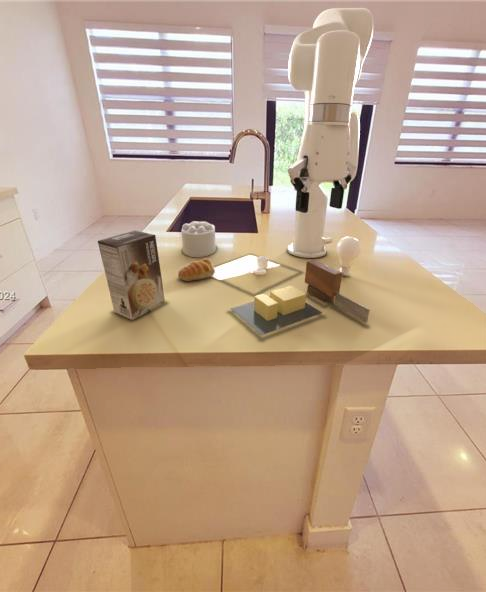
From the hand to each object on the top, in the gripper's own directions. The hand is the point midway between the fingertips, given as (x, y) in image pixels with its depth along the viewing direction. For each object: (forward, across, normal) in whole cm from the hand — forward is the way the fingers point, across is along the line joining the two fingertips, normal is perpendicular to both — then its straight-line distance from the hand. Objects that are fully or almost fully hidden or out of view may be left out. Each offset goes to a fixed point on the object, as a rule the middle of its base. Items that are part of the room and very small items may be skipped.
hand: (318, 209), depth 67 cm
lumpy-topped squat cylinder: (+20, +10, -43) cm, 49 cm away
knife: (+21, -1, +7) cm, 22 cm away
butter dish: (+21, +12, +3) cm, 24 cm away
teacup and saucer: (+21, +4, -19) cm, 29 cm away
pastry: (+20, +18, -24) cm, 36 cm away
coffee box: (+21, +36, -15) cm, 44 cm away
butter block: (+20, +9, +3) cm, 22 cm away
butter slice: (+20, +15, +3) cm, 25 cm away
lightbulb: (+21, -17, -5) cm, 27 cm away
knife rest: (+21, -1, +3) cm, 21 cm away
